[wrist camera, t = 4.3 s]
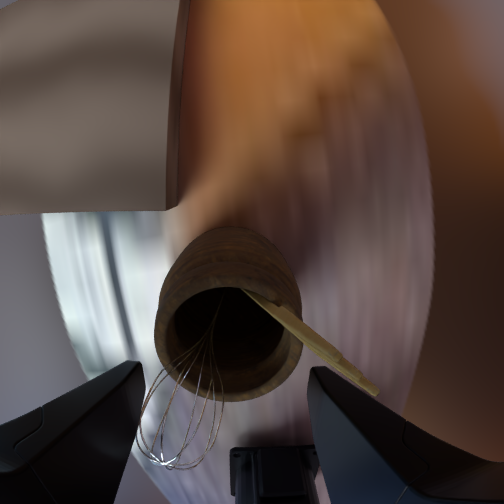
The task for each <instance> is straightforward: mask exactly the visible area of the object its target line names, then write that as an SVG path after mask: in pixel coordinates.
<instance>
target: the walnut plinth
mask: <svg viewBox="0 0 504 504" xmlns="http://www.w3.org/2000/svg"><path fill="white" fill-rule="evenodd" d="M189 6H190V0H18V1H16V2H14V3H12V4H10V5H8V6H6V7H4V8H2V9H0V215H13V214H33V213H61V212H97V211H166V210H169V209H171V208H173V207H176V206H177V180H178V142H179V119H180V101H181V86H182V73H183V61H184V50H185V40H186V31H187V22H188V14H189Z"/></svg>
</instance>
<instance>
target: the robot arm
mask: <svg viewBox="0 0 504 504" xmlns="http://www.w3.org/2000/svg"><path fill="white" fill-rule="evenodd" d="M145 390H146V385H145V379H144V373H143V367H142V364H141V362H139V361H132V360H127V361H125V362H123V363H121V364H119V365H117V366H116V367H114V368H112V369H110V370H108V371H106V372H105V373H103V374H101V375H99V376H97V377H95V378H94V379H92V380H90V381H88V382H86V383H84V384H82V385H81V386H79V387H77V388H75V389H73V390H71V391H69V392H67V393H66V394H64V395H62V396H60V397H58V398H56V399H54V400H52V401H50V402H48V403H46V404H44V405H43V406H42V407H39V408H37V409H35V410H33V411H31V412H29V413H27V414H25V415H22V416H20V417H18V418H16V419H14V420H11V421H9V422H6V423H4V424H1V425H0V504H113V503H114V501H115V497H116V494H117V491H118V488H119V485H120V482H121V478H122V475H123V472H124V469H125V466H126V463H127V460H128V457H129V454H130V451H131V448H132V445H133V442H134V439H135V436H136V433H137V429H138V424H139V419H140V414H141V409H142V405H143V400H144V396H145ZM307 399H308V406H309V413H310V420H311V427H312V434H313V440H314V444H315V445H304V446H287V447H234V448H232V449H231V450H230V486H231V495H232V496H235V504H320V503H319V499H318V494H317V490H316V485H315V478H316V474H317V471H318V468H319V464H320V466H321V469H322V473H323V476H324V480H325V483H326V487H327V491H328V494H329V498H330V501H331V504H504V462H493V461H488V460H485V459H482V458H480V457H478V456H475V455H473V454H471V453H468V452H466V451H464V450H462V449H459V448H457V447H455V446H453V445H451V444H448V443H446V442H445V441H443V440H441V439H439V438H437V437H435V436H433V435H431V434H429V433H427V432H426V431H424V430H422V429H420V428H419V427H417V426H415V425H414V424H412V423H411V422H409V421H406V419H404V418H403V417H401V416H400V415H398V414H396V413H395V412H393V411H392V410H390V409H389V408H387V407H386V406H384V405H383V404H381V403H379V402H378V401H376V400H375V399H373V398H372V397H370V396H369V395H367V394H366V393H364V392H363V391H361V390H360V389H358V388H357V387H355V386H354V385H352V384H351V383H349V382H348V381H346V380H345V379H344V378H342V377H341V376H339V375H338V374H336V373H335V372H333V371H332V370H330V369H329V368H328V367H326V366H315V367H312V368H311V370H310V375H309V381H308V388H307ZM236 453H238V454H236Z"/></svg>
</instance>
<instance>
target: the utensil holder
mask: <svg viewBox="0 0 504 504" xmlns="http://www.w3.org/2000/svg"><path fill="white" fill-rule="evenodd" d="M154 342H155V348H156V352H157V355H158V357H159V360H160V362H161V364H162V365H163V367H164V368H163V369H162V370H161V372H160V373H159V374H158V376H157V377H156V379H155V380H154V382H153V384H152V386H151V388H150V390H149V393H148V395H147V398H146V400H145V402H144V405H143V407H142V410H141V414H140V419H139V424H138V426H139V427H140V433H141V437H142V440H143V442H144V444H145V446H146V448H147V449H148V451H149V452H150V453H151V458H150V457H149V456H147V455H146V454H145V453H144V452H143V451H142V449H141V448H140V446H139V443H138V440H137V433H136V442H137V445H138V447H139V449H140V451H141V452H142V453H143V454H144V455H145V456H146V457H147V458H149V459H151V460H152V463H153V464H155V465H157V466H161V465H164V466H165V467H166V469H168V470H172V469H176V470H189V469H192V468H194V467H196V466H197V465H198V464H199V463H200V462H201V461H202V460H203V458H204V456H205V455H206V454H207V453H208V452H209V450H210V449H211V448H212V446H213V444H214V442H215V439H216V437H217V433H218V430H219V426H220V422H221V418H222V414H223V408H224V402H238V401H245V400H250V399H254V398H257V397H260V396H262V395H265V394H267V393H269V392H270V391H272V390H274V389H275V388H277V387H278V386H279V385H281V384H282V383H283V382H284V381H285V380H286V379H287V378H288V377H289V376H290V375H291V373H292V372H293V370H294V369H295V367H296V366H297V364H298V361H299V359H300V356H301V353H302V349H303V343H304V344H305V345H306V346H307V347H308V348H309V349H311V350H312V351H313V352H314V353H315V354H316V355H318V356H319V357H320V358H322V359H323V360H324V361H326V362H327V363H328V364H330V365H331V366H333V367H334V368H335V369H337V370H338V371H339V372H341V373H342V374H344V375H345V376H346V377H348V378H349V379H350V380H352V381H353V382H355V383H356V384H357V385H359V386H360V387H362V388H363V389H364V390H366V391H367V392H369V393H370V394H371V395H373V396H377V395H378V394H379V393H380V390H379V389H378V388H377V387H376V386H375V385H374V384H372V383H371V382H370V381H369V380H368V379H366V378H365V377H364V376H363V374H362V373H361V372H360V371H359V370H358V369H357V368H356V367H355V366H353V365H352V364H351V363H350V362H348V361H347V360H346V359H345V358H343V355H342V354H341V353H340V352H339V351H338V350H337V349H336V348H335V347H334V346H332V345H331V344H330V343H329V342H327V341H326V340H325V339H323V338H322V337H321V336H320V335H318V334H317V333H316V332H315V331H313V330H312V329H311V328H310V327H308V326H307V325H306V324H305V323H303V319H302V303H301V297H300V292H299V289H298V286H297V283H296V281H295V278H294V276H293V274H292V272H291V270H290V268H289V266H288V265H287V263H286V261H285V259H284V258H283V256H282V255H281V253H280V252H279V251H278V249H277V248H276V247H275V246H274V245H273V244H272V243H271V242H270V241H269V240H268V239H266V238H265V237H263V236H262V235H260V234H258V233H256V232H254V231H251V230H249V229H245V228H240V227H222V228H217V229H214V230H211V231H208V232H206V233H204V234H202V235H200V236H199V237H197V238H196V239H194V240H193V241H192V242H191V243H190V244H189V245H188V246H187V247H186V248H185V249H184V250H183V252H182V253H181V254H180V256H179V257H178V258H177V260H176V261H175V263H174V264H173V266H172V267H171V269H170V271H169V272H168V274H167V276H166V278H165V280H164V283H163V285H162V288H161V292H160V296H159V305H158V310H157V314H156V319H155V328H154ZM164 369H165V370H166V371H167V373H168V374H167V375H166V376H165V377H164V378H163V379H162V380H161V381H160V382H159V383H158V384H157V386H156V387H155V388H154V390H153V391H152V393H151V395H150V396H149V394H150V392H151V390H152V388H153V386H154V384H155V382H156V380H157V378H158V377H159V375H160V374H161V373H162V371H163V370H164ZM168 375H170V376H171V377H172V378H173V379H174V380H175V381H176V382H177V383H176V386H175V388H174V391H173V394H172V396H171V399H170V402H169V404H168V406H167V408H166V410H165V413H164V415H163V417H162V420H161V422H160V425H159V428H158V430H157V433H156V436H155V439H154V442H153V445H152V448H151V451H150V449H149V448H148V446H147V445H146V443H145V440H144V438H143V434H142V429H141V418H142V415H143V413H144V410H145V408H146V406H147V403H148V401H149V399H150V397H151V396H152V394H153V392H154V391H155V389H156V388H157V387H158V385H159V384H160V383H161V382H162V381H163V380H164V379H165V378H166V377H167V376H168ZM178 384H179V386H178V388H177V385H178ZM180 385H181V386H182V387H183V388H185V389H186V390H188V391H190V392H192V393H194V394H196V397H195V402H194V407H193V411H192V415H191V419H190V423H189V426H188V430H187V433H186V436H185V439H184V442H183V446H182V449H181V452H180V453H179V454H178V455H176V456H175V457H174V458H173V459H171V460H170V461H168V462H165V461H164V457H163V432H164V426H165V421H166V417H167V413H168V410H169V407H170V404H171V401H172V399H173V397H174V396H175V394H176V392H177V390H178V389H179V387H180ZM176 388H177V389H176ZM175 390H176V391H175ZM197 395H198V396H201V397H203V398H206V400H205V403H204V407H203V410H202V413H201V416H200V419H199V422H198V425H197V427H196V429H195V431H194V433H193V435H192V437H191V438H190V440H189V441H188V443H187V444H186V446H185V447H184V444H185V441H186V438H187V435H188V431H189V428H190V424H191V421H192V417H193V413H194V408H195V404H196V399H197ZM148 397H149V398H148ZM147 399H148V400H147ZM207 399H210V400H214V417H213V424H212V428H211V432H210V436H209V439H208V443H207V446H206V450H205V452H204V454H203V455H202V456H201V457H199V458H198V459H196V460H194V461H191V462H188V463H184V464H177V463H178V461H179V459H180V456H181V453H182V452H183V451H184V450H185V449H186V447H187V446H188V445H189V443H190V442H191V440H192V439H193V437H194V435H195V433H196V431H197V429H198V427H199V424H200V422H201V419H202V416H203V412H204V409H205V406H206V402H207ZM215 401H223V403H222V411H221V416H220V420H219V424H218V427H217V431H216V434H215V437H214V440H213V443H212V445H211V446H210V448H209V449H208V450H207V448H208V445H209V441H210V438H211V434H212V430H213V426H214V420H215ZM164 416H165V417H164ZM163 419H164V421H163ZM162 421H163V427H162V433H161V456H162V461H163V462H162V461H161V460H159V459H158V458H157V457H156V456H155V455H154V454H153V453H152V452H153V447H154V443H155V440H156V438H157V435H158V432H159V429H160V426H161V424H162ZM137 430H138V429H137ZM183 447H184V448H183ZM152 455H153V457H155V458H156V459H157V460H158V461H156V460H154V459H153V458H152ZM178 456H179V457H178ZM177 457H178V459H177V462H176V463H175V464H168V463H169V462H171V461H173V460H174V459H176V458H177ZM201 458H202V459H201ZM199 459H201V460H200V461H199V462H198V463H197V464H196V465H194V466H193V467H190V468H186V469H179V468H175V466H182V465H187V464H191V463H193V462H195V461H197V460H199ZM154 461H155V462H157V463H161V464H156V463H154ZM159 461H160V462H159ZM170 465H171V466H170ZM167 466H168V467H170V468H171V469H169V468H168V467H167ZM172 466H173V467H172Z"/></svg>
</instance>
